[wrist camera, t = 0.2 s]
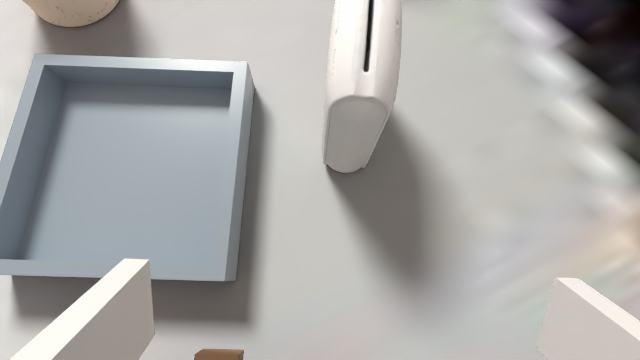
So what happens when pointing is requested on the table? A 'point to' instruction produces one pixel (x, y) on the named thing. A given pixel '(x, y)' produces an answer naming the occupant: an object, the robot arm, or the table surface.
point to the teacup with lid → (71, 11)
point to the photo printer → (360, 79)
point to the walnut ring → (219, 354)
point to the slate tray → (126, 167)
